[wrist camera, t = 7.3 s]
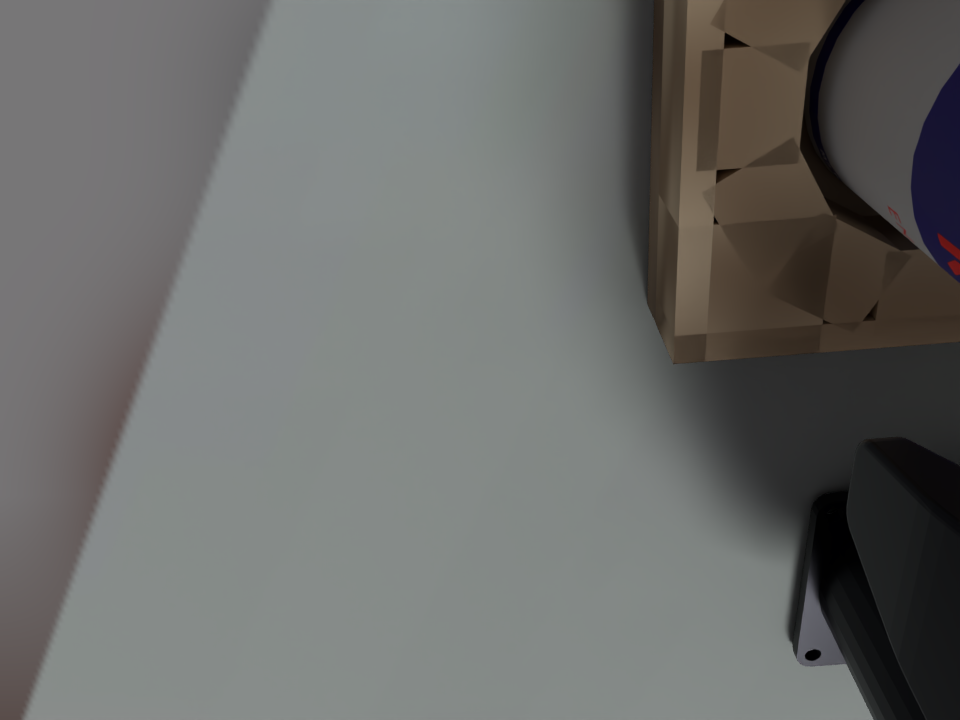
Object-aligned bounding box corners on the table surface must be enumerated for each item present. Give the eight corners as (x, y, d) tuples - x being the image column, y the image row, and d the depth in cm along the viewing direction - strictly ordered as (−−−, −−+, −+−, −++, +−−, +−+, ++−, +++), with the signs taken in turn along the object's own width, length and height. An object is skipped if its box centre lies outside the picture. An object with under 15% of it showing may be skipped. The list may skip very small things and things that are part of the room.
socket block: (1090, 269, 23) (1174, 325, 20) (647, 304, 23) (673, 364, 20) (1242, -266, 17) (1384, -285, 15) (658, -218, 17) (696, -228, 15)
